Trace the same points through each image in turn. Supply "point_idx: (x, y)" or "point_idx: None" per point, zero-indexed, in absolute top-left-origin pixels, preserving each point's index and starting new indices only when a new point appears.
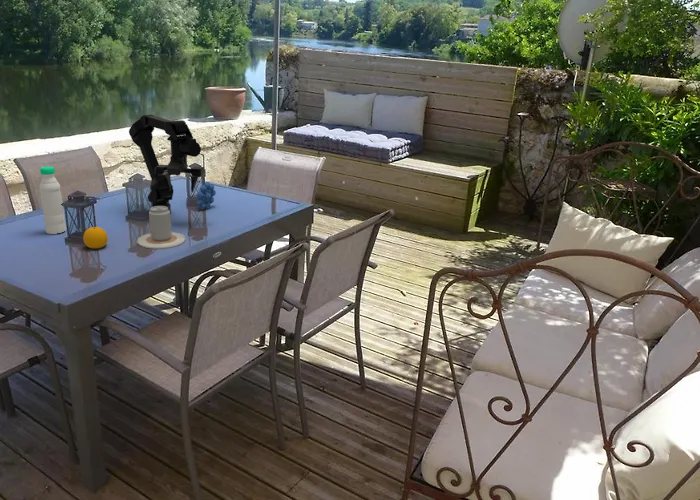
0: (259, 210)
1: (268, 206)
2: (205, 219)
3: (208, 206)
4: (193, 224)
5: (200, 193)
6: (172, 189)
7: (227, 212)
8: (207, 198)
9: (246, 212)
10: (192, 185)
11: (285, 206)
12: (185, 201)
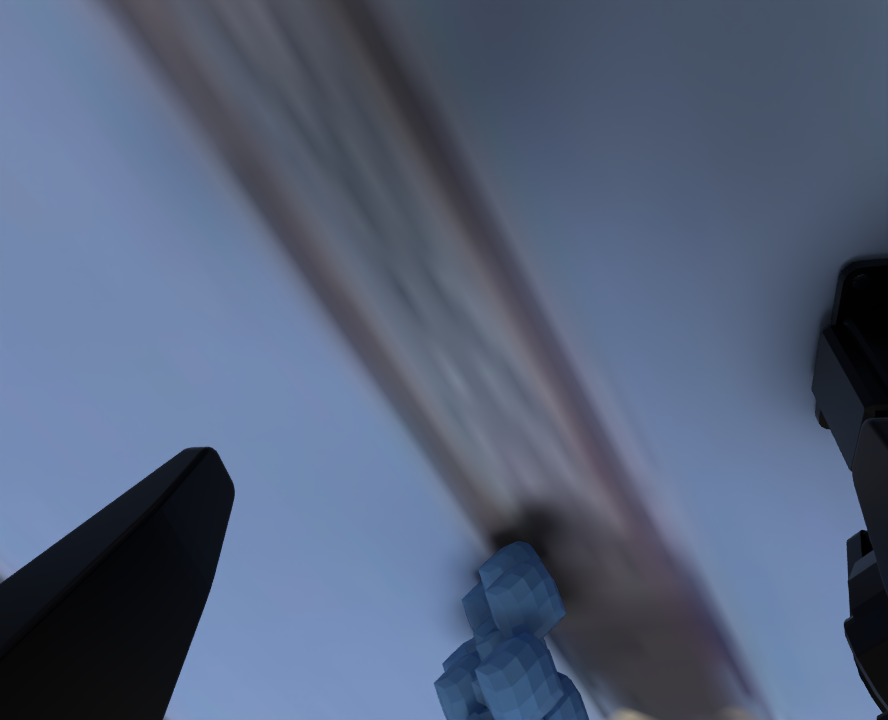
0: None
1: None
2: (334, 312)
3: (473, 590)
4: (351, 88)
5: (499, 697)
6: (875, 668)
7: (279, 527)
8: (461, 660)
9: None
10: (26, 589)
11: None
12: (769, 692)
